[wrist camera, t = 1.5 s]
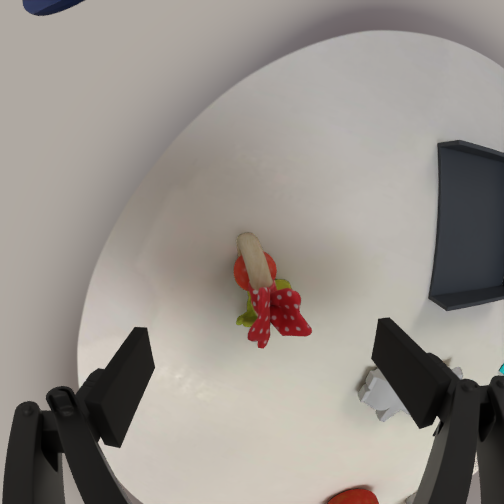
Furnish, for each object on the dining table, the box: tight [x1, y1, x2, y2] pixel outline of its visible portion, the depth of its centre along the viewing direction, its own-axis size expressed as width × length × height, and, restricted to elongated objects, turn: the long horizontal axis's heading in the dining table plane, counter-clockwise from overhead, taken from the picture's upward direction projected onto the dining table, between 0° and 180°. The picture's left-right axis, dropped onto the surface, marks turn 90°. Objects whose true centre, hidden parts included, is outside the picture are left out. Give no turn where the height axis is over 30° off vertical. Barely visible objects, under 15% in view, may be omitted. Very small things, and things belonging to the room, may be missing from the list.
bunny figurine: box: [358, 367, 463, 422], centre depth 30 cm, size 10×5×15 cm
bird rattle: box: [234, 232, 312, 348], centre depth 23 cm, size 6×11×9 cm
